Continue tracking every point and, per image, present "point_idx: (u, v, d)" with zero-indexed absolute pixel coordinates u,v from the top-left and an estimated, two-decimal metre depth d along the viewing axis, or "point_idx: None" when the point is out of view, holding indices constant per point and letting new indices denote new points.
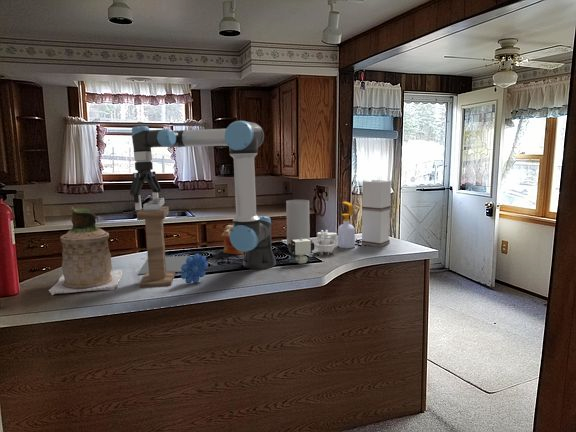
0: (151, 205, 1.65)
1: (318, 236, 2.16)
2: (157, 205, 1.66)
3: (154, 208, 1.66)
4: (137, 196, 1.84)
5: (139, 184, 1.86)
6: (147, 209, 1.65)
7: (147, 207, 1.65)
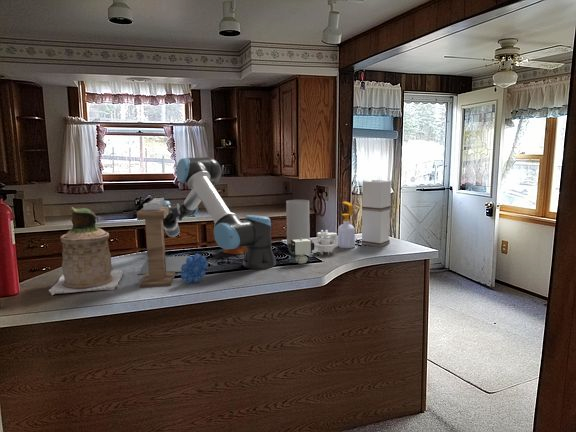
0: (151, 205, 1.65)
1: (318, 236, 2.16)
2: (157, 205, 1.66)
3: (154, 208, 1.66)
4: None
5: None
6: (147, 209, 1.65)
7: (147, 207, 1.65)
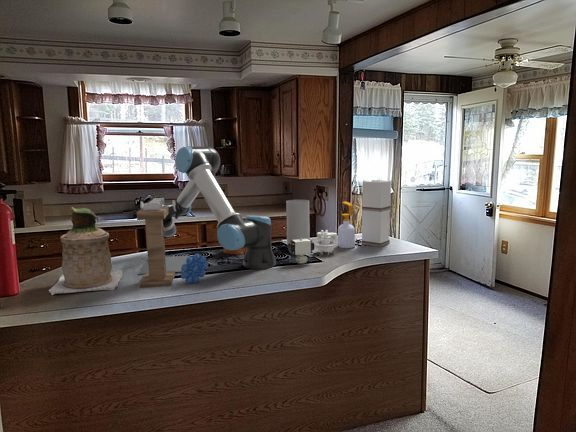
0: (151, 205, 1.65)
1: (318, 236, 2.16)
2: (157, 205, 1.66)
3: (154, 208, 1.66)
4: None
5: None
6: (147, 209, 1.65)
7: (147, 207, 1.65)
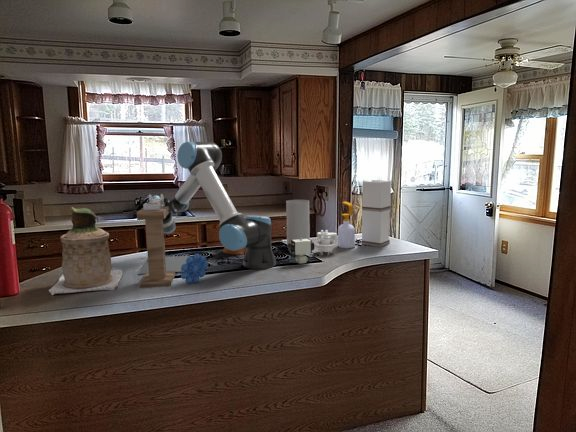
0: (151, 205, 1.65)
1: (318, 236, 2.16)
2: (157, 205, 1.66)
3: (154, 208, 1.66)
4: None
5: None
6: (147, 209, 1.65)
7: (147, 207, 1.65)
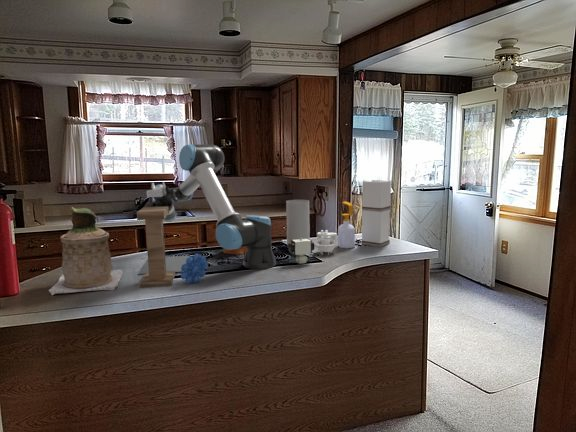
0: (154, 192, 1.75)
1: (318, 236, 2.16)
2: (159, 192, 1.75)
3: (157, 194, 1.75)
4: None
5: None
6: (150, 195, 1.75)
7: (150, 193, 1.75)
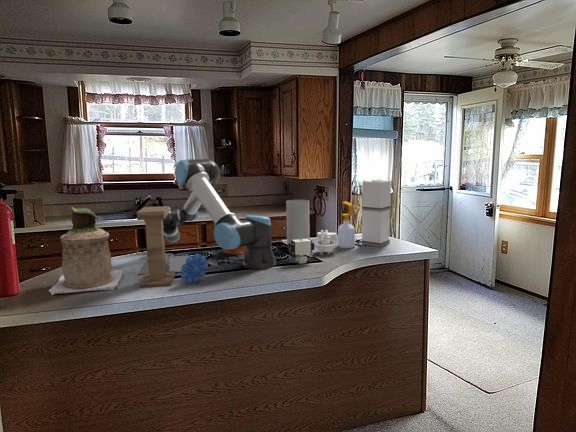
0: None
1: (318, 236, 2.16)
2: (167, 266, 1.87)
3: None
4: None
5: None
6: None
7: None
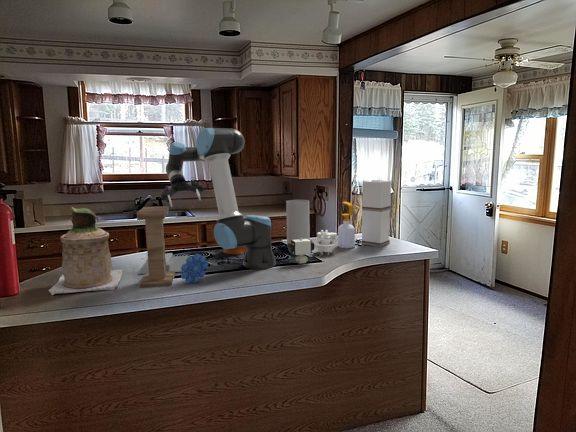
0: None
1: (318, 236, 2.16)
2: (167, 266, 1.87)
3: None
4: (166, 196, 2.01)
5: None
6: None
7: None
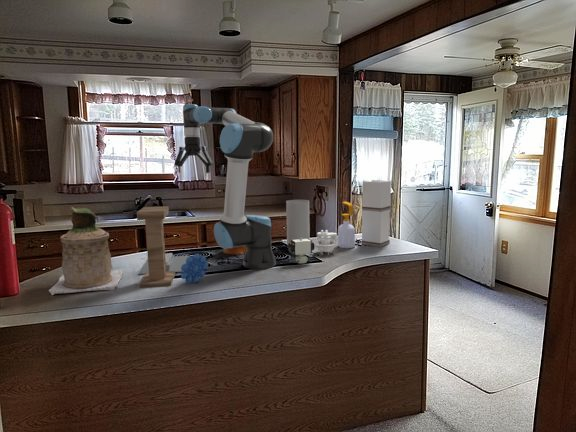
0: None
1: (318, 236, 2.16)
2: (167, 266, 1.87)
3: None
4: (179, 167, 2.12)
5: None
6: None
7: None
